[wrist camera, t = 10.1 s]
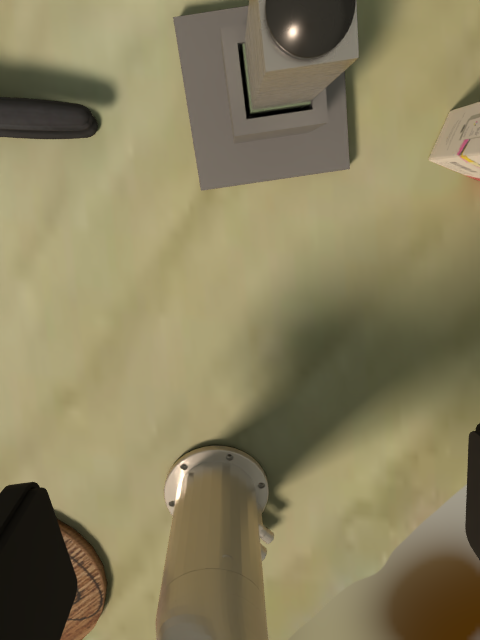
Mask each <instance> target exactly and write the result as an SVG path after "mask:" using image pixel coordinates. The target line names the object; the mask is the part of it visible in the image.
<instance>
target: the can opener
mask: <svg viewBox="0 0 480 640" xmlns="http://www.w3.org/2000/svg"><path fill="white" fill-rule="evenodd" d="M97 129H98V123H97V121H96V119H95V118H94V116H92V113H91V111H90V110H89V109H88V108H87V107H85V106H83V105H80V104H73V103H67V102H58V101H49V100H40V99H28V98H10V97H0V137H13V138H30V139H72V138H73V139H74V138H87V137H91V136H93V135H94V134H95V133H96V131H97Z"/></svg>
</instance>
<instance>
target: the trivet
mask: <svg viewBox="0 0 480 640" xmlns="http://www.w3.org/2000/svg"><path fill="white" fill-rule="evenodd" d="M57 521H58V524H59V527H60V530H61V533H62V536H63V539H64V542H65V545H66V547H67V550H68V553H69V556H70V559H71V562H72V565H73V568H74V571H75V574H76V577H77V594H76V597H75V600H74V603H73V606H72V608H71V611H70V614H69V617H68V619H67V622H66V625H65V628H64V630H63V633H62V636H61V639H60V640H82V639H83V638H84V637H85V636H86V635H87V634H88V633H89V632H90V631H91V630H92V629H93V628H94V626H95V624H96V622H97V621H98V619H99V617H100V615H101V613H102V610H103V607H104V603H105V598H106V590H107V579H106V575H105V571H104V566H103V563H102V562H101V560H100V558H99V557H98V555H97V553H96V552H95V550H94V548H93V547H92V545H91V544H90V543H88V542H87V541H86V540H85V539H84V538H83V537H82V536H81V535H80V534H79V533H78V532H77V531H76V530H75V529H73V528H72V527H70V526H68V525H67V524H65V523H63V522H62V521H60V520H58V519H57Z"/></svg>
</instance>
